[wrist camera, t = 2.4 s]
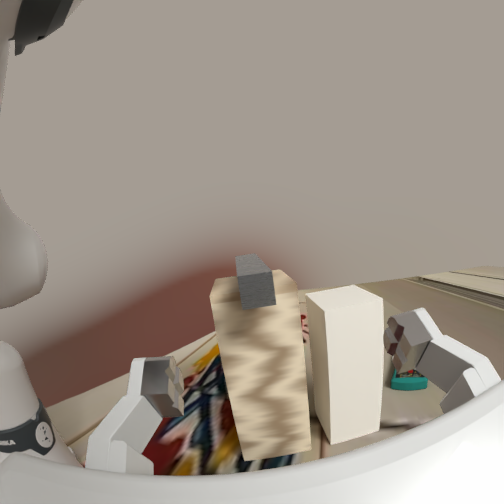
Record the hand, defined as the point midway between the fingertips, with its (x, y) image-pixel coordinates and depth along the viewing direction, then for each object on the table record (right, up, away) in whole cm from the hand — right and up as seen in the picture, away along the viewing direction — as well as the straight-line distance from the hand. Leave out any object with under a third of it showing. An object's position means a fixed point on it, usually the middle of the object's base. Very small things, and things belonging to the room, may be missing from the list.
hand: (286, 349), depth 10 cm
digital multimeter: (+32, -22, +41) cm, 56 cm away
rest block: (+14, -24, +31) cm, 42 cm away
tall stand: (+2, -26, +31) cm, 41 cm away
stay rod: (-1, -1, +25) cm, 25 cm away
